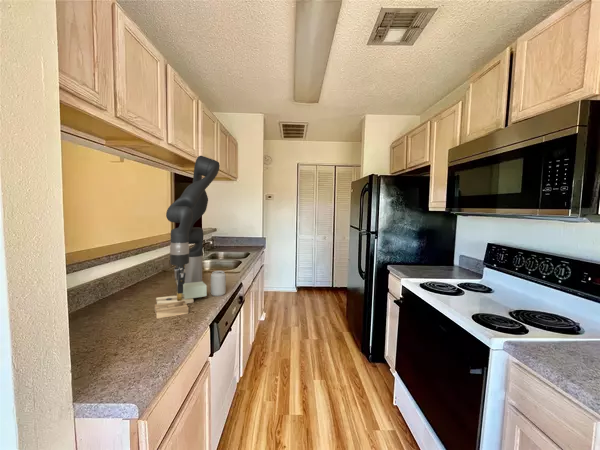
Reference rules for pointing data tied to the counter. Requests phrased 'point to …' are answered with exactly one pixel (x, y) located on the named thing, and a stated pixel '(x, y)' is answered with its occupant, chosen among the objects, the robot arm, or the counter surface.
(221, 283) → the can
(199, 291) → the cover
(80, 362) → the counter surface
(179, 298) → the peg
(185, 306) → the socket board
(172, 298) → the board
